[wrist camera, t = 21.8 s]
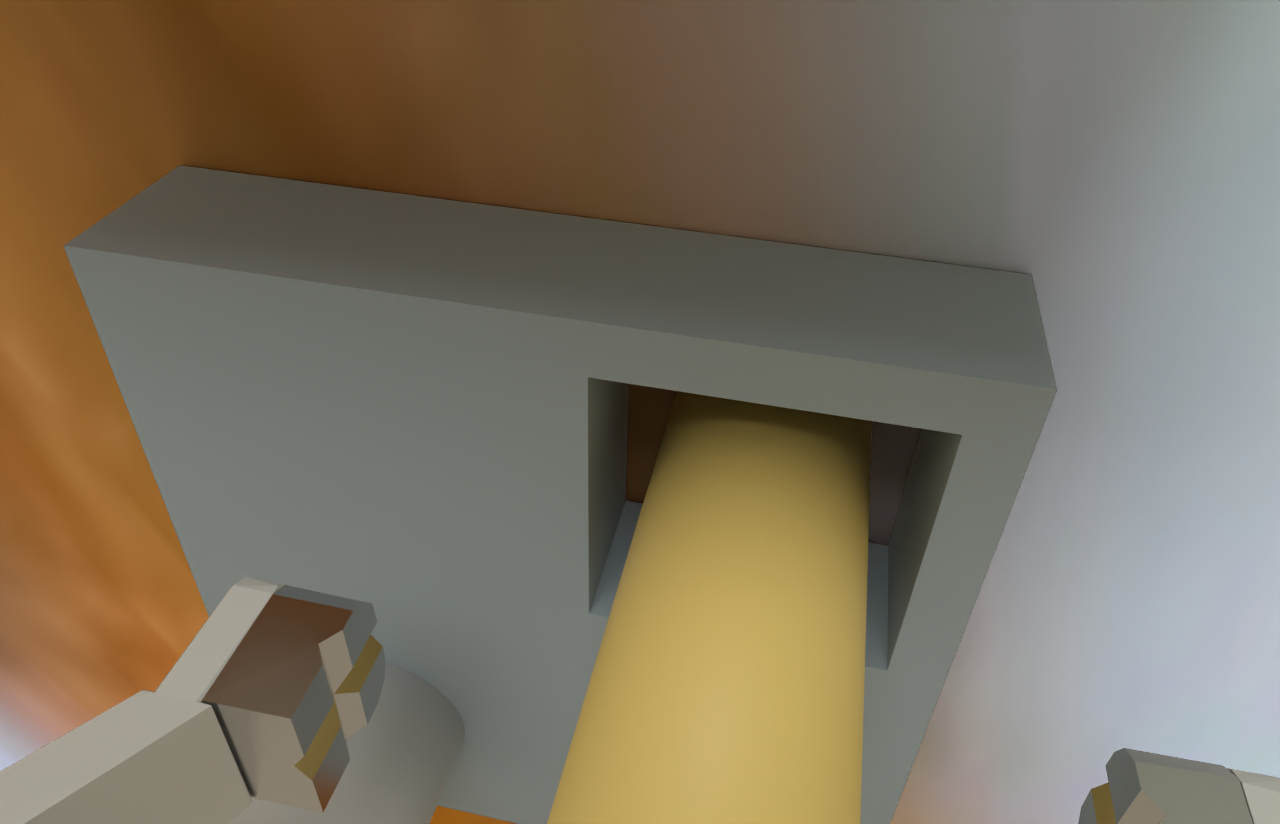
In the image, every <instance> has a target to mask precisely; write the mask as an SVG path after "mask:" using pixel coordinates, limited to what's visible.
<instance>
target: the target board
mask: <svg viewBox="0 0 1280 824" xmlns="http://www.w3.org/2000/svg"><path fill="white" fill-rule="evenodd" d="M64 248H65V251H66V253H67V256H68V259H69V261H70V264H71V266H72V269H73V271H74V274H75V276H76V279H77V281H78V284H79V286H80V289H81V292H82V294H83V297H84V299H85V302H86V304H87V307H88V309H89V312H90V314H91V317H92V320H93V322H94V325H95V327H96V330H97V332H98V335H99V337H100V340H101V342H102V345H103V348H104V350H105V353H106V355H107V358H108V360H109V363H110V365H111V368H112V370H113V373H114V376H115V378H116V381H117V383H118V386H119V388H120V391H121V393H122V396H123V398H124V401H125V404H126V406H127V409H128V411H129V414H130V416H131V419H132V421H133V424H134V426H135V429H136V432H137V434H138V437H139V439H140V442H141V444H142V447H143V449H144V452H145V454H146V457H147V460H148V462H149V465H150V467H151V470H152V472H153V475H154V477H155V480H156V482H157V485H158V487H159V490H160V493H161V495H162V498H163V500H164V503H165V505H166V508H167V510H168V513H169V515H170V518H171V521H172V523H173V526H174V528H175V531H176V533H177V536H178V538H179V541H180V543H181V546H182V549H183V551H184V554H185V556H186V559H187V561H188V564H189V566H190V569H191V571H192V574H193V577H194V579H195V582H196V584H197V587H198V589H199V592H200V594H201V597H202V599H203V602H204V605H205V607H206V610H207V612H208V615H209V617H210V615H211V614H212V613H213V611H214V610H215V608H216V607H217V606H218V604H219V603H220V602H221V600H222V599H223V598H224V596H225V595H226V593H227V592H228V591H229V589H230V588H231V587H232V586H233V585H235V584H236V583H237V582H239V581H240V580H242V579H243V578H245V577H250V578H255V579H261V580H266V581H271V582H276V583H281V584H286V585H290V586H294V587H298V588H303V589H308V590H313V591H317V592H322V593H327V594H331V595H336V596H341V597H346V598H350V599H355V600H360V601H364V602H369V603H372V605H373V608H374V612H375V615H376V619H377V623H376V625H375V627H374V629H373V631H372V633H371V635H372V636H373V637H374V638H375V639H376V640H377V641H378V642H379V643H380V644H381V645H382V646H383V650H384V655H385V660H386V662H385V679H384V683H383V687H382V690H381V694H380V698H379V701H378V704H377V706H376V708H375V710H374V712H373V714H372V717H371V719H370V721H369V723H368V725H367V726H365V727H364V728H362V729H361V730H359V731H358V732H356V733H355V734H354V735H352V736H351V737H349V738H348V739H346V741H347V746H348V751H349V756H350V761H349V763H348V765H347V767H346V769H345V771H344V773H343V775H342V777H341V779H340V781H339V783H338V785H337V787H336V789H335V791H334V793H333V795H332V796H331V798H330V800H329V802H328V804H327V806H326V808H325V810H324V812H318V811H313V810H308V809H303V808H298V807H293V806H288V805H283V804H278V803H273V802H268V801H263V800H258V799H253V798H252V801H253V803H252V804H251V805H250V806H249V807H248V808H246V809H245V810H244V811H243V812H242V813H240V814H239V815H238V816H237V817H235V818H234V819H233V820H232V821H230V822H229V823H228V824H430V821H431V819H432V816H433V814H434V812H435V809H436V807H437V805H438V806H442V807H446V808H451V809H455V810H460V811H464V812H468V813H473V814H477V815H482V816H486V817H491V818H495V819H499V820H504V821H508V822H513V823H517V824H547V822H548V819H549V815H550V812H551V809H552V805H553V802H554V799H555V795H556V792H557V789H558V785H559V782H560V779H561V775H562V772H563V769H564V765H565V762H566V759H567V755H568V752H569V749H570V745H571V742H572V739H573V735H574V732H575V729H576V725H577V722H578V719H579V715H580V712H581V709H582V705H583V702H584V699H585V695H586V692H587V689H588V685H589V682H590V679H591V675H592V672H593V669H594V665H595V662H596V659H597V655H598V652H599V649H600V645H601V642H602V639H603V635H604V632H605V629H606V625H607V622H608V619H609V615H610V612H611V609H612V605H613V602H614V599H615V595H616V592H617V589H618V585H619V582H620V579H621V575H622V572H623V569H624V565H625V562H626V559H627V555H628V552H629V549H630V545H631V542H632V539H633V535H634V532H635V529H636V525H637V522H638V519H639V515H640V512H641V509H642V505H643V503H637V502H631V501H626V477H627V443H628V410H629V384H634V385H641V386H647V387H654V388H660V389H667V390H673V391H680V392H686V393H693V394H699V395H706V396H712V397H719V398H725V399H732V400H738V401H745V402H751V403H758V404H764V405H771V406H778V407H784V408H791V409H797V410H804V411H810V412H817V413H823V414H830V415H836V416H843V417H849V418H856V419H862V420H869V421H875V422H882V423H888V424H895V425H901V426H908V427H914V428H921V433H920V436H919V440H918V443H917V447H916V450H915V454H914V457H913V461H912V464H911V468H910V472H909V475H908V479H907V482H906V486H905V489H904V493H903V496H902V500H901V504H900V507H899V511H898V514H897V518H896V521H895V525H894V528H893V532H892V536H891V539H890V543H889V546H887V545H881V544H875V543H869V542H868V573H867V609H866V644H865V679H864V714H863V750H862V785H861V820H860V824H890V822H891V820H892V817H893V815H894V812H895V809H896V807H897V804H898V802H899V799H900V796H901V794H902V791H903V789H904V786H905V783H906V781H907V778H908V776H909V773H910V770H911V768H912V765H913V763H914V760H915V757H916V755H917V752H918V750H919V747H920V744H921V742H922V739H923V737H924V734H925V731H926V729H927V726H928V724H929V721H930V719H931V716H932V713H933V711H934V708H935V706H936V703H937V700H938V698H939V695H940V693H941V690H942V687H943V685H944V682H945V680H946V677H947V674H948V672H949V669H950V667H951V664H952V661H953V659H954V656H955V654H956V651H957V648H958V646H959V643H960V641H961V638H962V635H963V633H964V630H965V628H966V625H967V622H968V620H969V617H970V615H971V612H972V609H973V607H974V604H975V602H976V599H977V596H978V594H979V591H980V589H981V586H982V583H983V581H984V578H985V576H986V573H987V570H988V568H989V565H990V563H991V560H992V557H993V555H994V552H995V550H996V547H997V544H998V542H999V539H1000V537H1001V534H1002V531H1003V529H1004V526H1005V524H1006V521H1007V518H1008V516H1009V513H1010V511H1011V508H1012V505H1013V503H1014V500H1015V498H1016V495H1017V492H1018V490H1019V487H1020V485H1021V482H1022V479H1023V477H1024V474H1025V472H1026V469H1027V467H1028V464H1029V461H1030V459H1031V456H1032V454H1033V451H1034V448H1035V446H1036V443H1037V441H1038V438H1039V435H1040V433H1041V430H1042V428H1043V425H1044V422H1045V420H1046V417H1047V415H1048V412H1049V409H1050V407H1051V404H1052V402H1053V399H1054V396H1055V394H1056V391H1057V387H1056V382H1055V378H1054V373H1053V369H1052V364H1051V360H1050V355H1049V351H1048V346H1047V342H1046V337H1045V333H1044V328H1043V324H1042V319H1041V315H1040V310H1039V306H1038V301H1037V297H1036V292H1035V288H1034V283H1033V279H1032V275H1030V274H1022V273H1015V272H1007V271H999V270H991V269H984V268H976V267H968V266H960V265H952V264H945V263H937V262H929V261H921V260H913V259H906V258H898V257H890V256H882V255H874V254H867V253H859V252H851V251H843V250H835V249H828V248H820V247H812V246H804V245H796V244H789V243H781V242H773V241H765V240H757V239H750V238H742V237H734V236H726V235H719V234H711V233H703V232H695V231H687V230H680V229H672V228H664V227H656V226H648V225H641V224H633V223H625V222H617V221H609V220H602V219H594V218H586V217H578V216H570V215H563V214H555V213H547V212H539V211H531V210H524V209H516V208H508V207H500V206H492V205H485V204H477V203H469V202H461V201H454V200H446V199H438V198H430V197H422V196H415V195H407V194H399V193H391V192H383V191H376V190H368V189H360V188H352V187H344V186H337V185H329V184H321V183H313V182H305V181H298V180H290V179H282V178H274V177H266V176H259V175H251V174H243V173H235V172H228V171H220V170H212V169H204V168H196V167H189V166H181V165H179V166H178V167H176V168H175V169H174V170H172V171H171V172H169V173H168V174H166V175H165V176H163V177H162V178H161V179H159V180H158V181H156V182H155V183H153V184H152V185H150V186H149V187H148V188H146V189H145V190H143V191H142V192H140V193H139V194H137V195H136V196H135V197H133V198H132V199H130V200H129V201H127V202H126V203H124V204H123V205H122V206H120V207H119V208H117V209H116V210H114V211H113V212H111V213H110V214H109V215H107V216H106V217H104V218H103V219H101V220H100V221H98V222H97V223H96V224H94V225H93V226H91V227H90V228H88V229H87V230H85V231H84V232H83V233H81V234H80V235H78V236H77V237H75V238H74V239H72V240H71V241H70V242H68V243H67V244H65V245H64Z"/></svg>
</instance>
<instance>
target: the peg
mask: <svg viewBox="0 0 1280 824" xmlns="http://www.w3.org/2000/svg"><path fill="white" fill-rule="evenodd" d="M871 432H872V421H869V420H862V419H856V418H849V417H843V416H836V415H830V414H823V413H817V412H810V411H804V410H797V409H791V408H784V407H778V406H771V405H764V404H758V403H751V402H745V401H738V400H732V399H725V398H719V397H712V396H706V395H699V394H693V393H686V392H680V391H677V392H676V395H675V399H674V402H673V405H672V409H671V412H670V415H669V419H668V422H667V425H666V429H665V432H664V435H663V439H662V442H661V445H660V449H659V452H658V455H657V459H656V462H655V465H654V469H653V472H652V475H651V479H650V482H649V485H648V489H647V492H646V495H645V499H644V502H643V505H642V509H641V512H640V515H639V519H638V522H637V525H636V529H635V532H634V535H633V539H632V542H631V545H630V549H629V552H628V555H627V559H626V562H625V565H624V569H623V572H622V575H621V579H620V582H619V585H618V589H617V592H616V595H615V599H614V602H613V605H612V609H611V612H610V615H609V619H608V622H607V625H606V629H605V632H604V635H603V639H602V642H601V645H600V649H599V652H598V655H597V659H596V662H595V665H594V669H593V672H592V675H591V679H590V682H589V685H588V689H587V692H586V695H585V699H584V702H583V705H582V709H581V712H580V715H579V719H578V722H577V725H576V729H575V732H574V735H573V739H572V742H571V745H570V749H569V752H568V755H567V759H566V762H565V765H564V769H563V772H562V775H561V779H560V782H559V785H558V789H557V792H556V795H555V799H554V802H553V805H552V809H551V812H550V815H549V819H548V822H547V824H860V820H861V785H862V750H863V714H864V679H865V644H866V609H867V573H868V538H869V503H870V467H871Z"/></svg>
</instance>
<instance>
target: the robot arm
mask: <svg viewBox="0 0 1280 824" xmlns="http://www.w3.org/2000/svg"><path fill="white" fill-rule="evenodd" d="M376 623H377V619H376V615H375V612H374V608H373V605H372V603H369V602H364V601H360V600H355V599H350V598H346V597H341V596H336V595H331V594H327V593H322V592H317V591H313V590H308V589H303V588H298V587H294V586H290V585H286V584H281V583H276V582H271V581H266V580H261V579H255V578H250V577H245V578H243V579H242V580H240V581H239V582H237V583H236V584H235V585H233V586H232V587H231V588H230V589H229V591H228V592H227V593H226V595H225V596H224V598H223V599H222V600H221V602H220V603H219V604H218V606H217V607H216V608H215V610H214V611H213V613H212V614H211V615H210V617H209V618H208V619H207V621H206V622H205V624H204V625H203V626H202V628H201V629H200V630H199V632H198V633H197V635H196V636H195V637H194V639H193V640H192V641H191V643H190V644H189V646H188V647H187V648H186V650H185V651H184V652H183V654H182V655H181V656H180V658H179V659H178V661H177V662H176V663H175V665H174V666H173V667H172V669H171V670H170V672H169V673H168V674H167V676H166V677H165V678H164V680H163V681H162V683H161V684H160V685H159V687H158V688H157V689H156V691H155V692H152V691H146V690H142V691H140V692H138V693H136V694H135V695H133V696H131V697H129V698H128V699H126V700H124V701H122V702H121V703H119V704H117V705H115V706H114V707H112V708H110V709H108V710H107V711H105V712H103V713H101V714H100V715H98V716H96V717H94V718H93V719H91V720H89V721H87V722H86V723H84V724H82V725H80V726H79V727H77V728H75V729H74V730H72V731H70V732H68V733H67V734H65V735H63V736H61V737H60V738H58V739H56V740H54V741H53V742H51V743H49V744H47V745H46V746H44V747H42V748H40V749H39V750H37V751H35V752H33V753H32V754H30V755H28V756H26V757H25V758H23V759H21V760H19V761H18V762H16V763H14V764H12V765H11V766H9V767H7V768H5V769H4V770H2V771H0V824H228V823H229V822H230V821H232V820H233V819H234V818H235V817H237V816H238V815H239V814H240V813H242V812H243V811H244V810H245V809H246V808H248V807H249V806H250V805H251V804H252V803H253V801H252V798H253V799H258V800H263V801H268V802H273V803H278V804H283V805H288V806H293V807H298V808H303V809H308V810H313V811H318V812H324V810H325V808H326V806H327V804H328V802H329V800H330V798H331V796H332V795H333V793H334V791H335V789H336V787H337V785H338V783H339V781H340V779H341V777H342V775H343V773H344V771H345V769H346V767H347V765H348V763H349V761H350V756H349V751H348V746H347V741H346V739H348V738H349V737H351V736H352V735H354V734H355V733H356V732H358V731H359V730H361V729H362V728H364V727H365V726H367V725H368V723H369V721H370V719H371V717H372V714H373V712H374V710H375V708H376V706H377V704H378V701H379V698H380V694H381V690H382V687H383V683H384V679H385V662H386V660H385V655H384V650H383V646H382V645H381V644H380V643H379V642H378V641H377V640H376V639H375V638H374V637H373V636H372V635H371V633H372V631H373V629H374V627H375V625H376ZM1106 770H1107V776H1108V781H1109V783H1106V784H1103V785H1101V786H1098V787H1096V788H1093V789H1091V790H1090V792H1089V794H1088V796H1087V798H1086V800H1085V802H1084V803H1083V805H1082V807H1081V812H1080V818H1079V823H1078V824H1280V778H1278V777H1274V776H1268V775H1262V774H1257V773H1251V772H1245V771H1239V770H1233V769H1228V768H1225V767H1224V766H1222V765H1216V764H1211V763H1205V762H1199V761H1194V760H1188V759H1183V758H1177V757H1172V756H1166V755H1160V754H1155V753H1149V752H1144V751H1138V750H1132V749H1127V748H1123V749H1121V750H1118V751H1116V752H1114V754H1113V755H1112V757H1111V758H1110V760H1109V761H1108V763H1107V764H1106Z"/></svg>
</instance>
